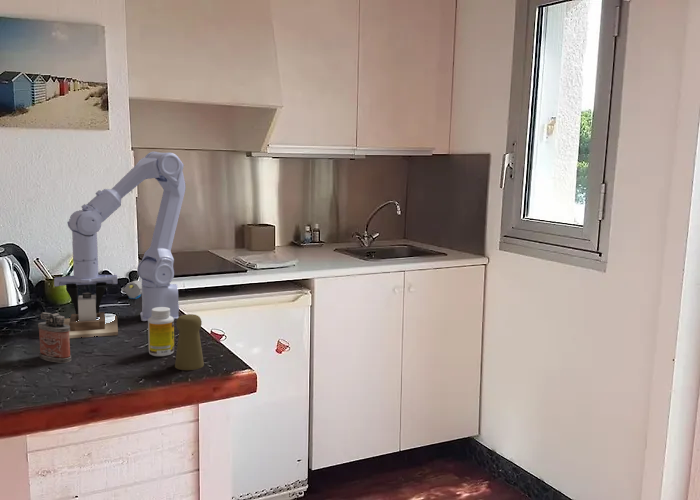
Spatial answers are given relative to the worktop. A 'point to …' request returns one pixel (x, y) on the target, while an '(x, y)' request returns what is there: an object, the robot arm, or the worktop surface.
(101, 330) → the socket dock
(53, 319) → the lighter
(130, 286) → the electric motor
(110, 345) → the worktop surface
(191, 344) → the olive pepper mill
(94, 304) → the plug
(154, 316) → the supplement bottle
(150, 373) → the worktop surface
